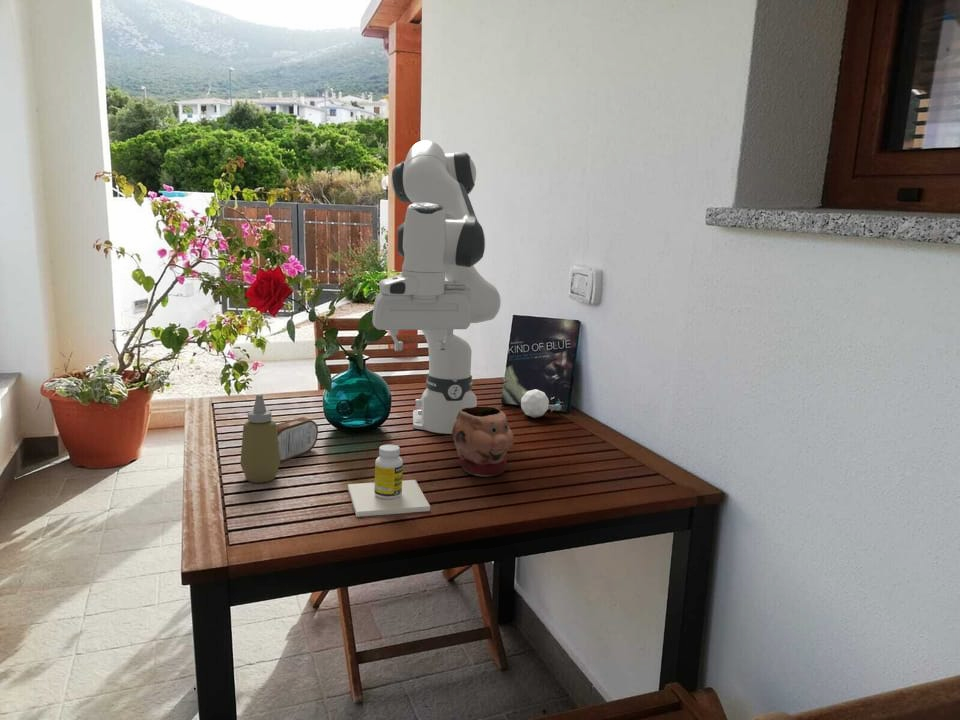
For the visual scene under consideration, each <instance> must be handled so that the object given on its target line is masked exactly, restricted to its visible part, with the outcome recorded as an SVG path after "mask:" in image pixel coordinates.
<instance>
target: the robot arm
mask: <svg viewBox="0 0 960 720" xmlns="http://www.w3.org/2000/svg"><path fill="white" fill-rule="evenodd" d="M476 179H477V169H476V165H475V163H474V161H473V159H472V158H471V156H470V155H469V154H468V153H467V152H465V151H454V152H452V153H451V152H449V153H445V152H444V150H443V148H442V147H441V146H440V145H439V144H438V143H437V142H434V141H432V140H421V141H418V142H416V143H415V144H413V145H411V147H410V148H409V151H408V153H407V154H406V158H405V160H404V161H403V160H402V161H401V162H400V163H398V164H396V165H395V166H394V168H393V169H392V172H391V180H390V181H391V188H392V191H393V193H394V195H395V196H396V198H397V199H398V200H399V201H400V202H402V203H404V204H406V203H407V204H409V205H408V206H407V208H406V212H405V219H404V222H402V223H400V225H399V226H398V227H397V251H396V253H398V254H399V255H400V256H401V257H402V258H403V263H402V265H401V273H400V274H396V275H394V276H390V277H387V278H384V279H381V280H379V283H378V284H379V285H378V286H379V290H380V292H379V293H377V295H376V296H375V299H374V303H373V309H372V321H371V322H372V325H373V326H374V328H375V329H377V330H378V331H379V330H381V331H382V330H385V331H386V330H389V335H390V336H391V338H392V340H393V341H394V344H393V346H394V347H393V348H394V351H395V352H401V351H404V348H403V347H404V341H402V340H398V338H397V335H399V330H403V331H404V330H405V331H406V330H408V331H410V330H412V331H413V330H421V332H422V333H423V336H424V337H425V339H426V342H427V343H426V344H427V347H428V374H427V375H426V384H425V386H426V388H425V390H424V391H423V393H422V394H421V397H420V398H416V399H415V401H414V402H415V408H417V409H414V410H412V428H413V429H417V430H424V431H428V432H431V433H436V434H446V435H448V434H449V435H452V429H453V426H454V424H455V422H456V421H457V415H458V413H459V411H460V410H461V409H463V408H466V407H475V406H478V404H477V400H478V399H477V395H476V394H474V392H473V391H472V388H473V376H472V374H471V373H472V372H471V371H472V348H471V344H469V342H467V340H465V339H464V338H461V337H460V336H459V335H456V334H454V330H467V329H468V328H469V327H470V326H471V324H478V323H483V322H488V321H492V320H494V319H495V317H496V316H497V315H498V313H499V311H500V308H501V304H502V303H501V301H502V300H501V296H500V293H499V291H498V289H497V287H496V286H495V285H494V284H492V283H491V282H489V281H488V280H486V279H485V278H484V277H483V276H482V275H481V274H480V273H479V272H478V269H476V268H475V265H476V264H478V263H479V261H481V260H482V259H483V257H484V254H485V250H486V237H485V233H484V229H483V227H482V225H481V223H480V222H479V220H478V218H477V215H476V212H475V210H474V207H473V205H472V202H471V200H470V197H469V194H470V193H471V192H472V191H473V189H474V188H475V184H476V183H475V182H476ZM446 279H447V280H446Z"/></svg>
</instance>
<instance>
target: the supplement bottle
mask: <svg viewBox="0 0 960 720" xmlns="http://www.w3.org/2000/svg"><path fill="white" fill-rule="evenodd" d="M400 451H401V449H400V446H399V445H397V444H383V445H380V446H379V449H378V454H379V456H378V457H377V458H376V459H375V462H374V466H375V467H374V482H375V490H374V491H375V495H376V496H377V497H379V498H382V499H395V498H398V497H399V496H401V494H402V481H403V473H404V472H403V469H404V468H403V467H404V465H403V464H404V461H403V459H402V457H400V454H401V452H400Z"/></svg>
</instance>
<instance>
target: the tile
mask: <svg viewBox="0 0 960 720" xmlns="http://www.w3.org/2000/svg"><path fill="white" fill-rule="evenodd" d="M374 490H375V481H374V482H363V483H361V482H360V483H348V484H347V491H348V494H349V497H350V501H351V503H352V507H353V510H354V512H355V513H354V514H355V516H356V518H357V517H358V518H359V517H360V518H361V517H371V516H383V515H385V516H386V515H396V514H410V513H421V512H424V513H425V512H430V511H431V505H430V503H429V502H428V500H427V498H426V496H425V494H424V493H423V491H422V490H421V488H420V486H419V484H418V482H417V480H416V479H409V480H408V479H407V480H402V494H401V496H399V497H398V498H395V499H382V498H379V497H377V496H376V495H375V491H374Z"/></svg>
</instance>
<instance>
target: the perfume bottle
mask: <svg viewBox="0 0 960 720" xmlns="http://www.w3.org/2000/svg"><path fill="white" fill-rule="evenodd" d="M520 401H521V403H520V407H521V410H522V411H523V412H524V415H526V416H528V417H531V418H533V419H535V418H539V417H542V416H544V414H546V412H547V411H548V410H551V411H550V412H553V411H560V410H561V409H562V405H561V404H560V403H555V404H549V403H550V401H549V398H548V396H547V395H546V393H545V392H544V391H542V390H540V389H535V388H534V389H531V390H527V391H526V392H525V394H524V395H523V396H522V397H521V400H520Z"/></svg>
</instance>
